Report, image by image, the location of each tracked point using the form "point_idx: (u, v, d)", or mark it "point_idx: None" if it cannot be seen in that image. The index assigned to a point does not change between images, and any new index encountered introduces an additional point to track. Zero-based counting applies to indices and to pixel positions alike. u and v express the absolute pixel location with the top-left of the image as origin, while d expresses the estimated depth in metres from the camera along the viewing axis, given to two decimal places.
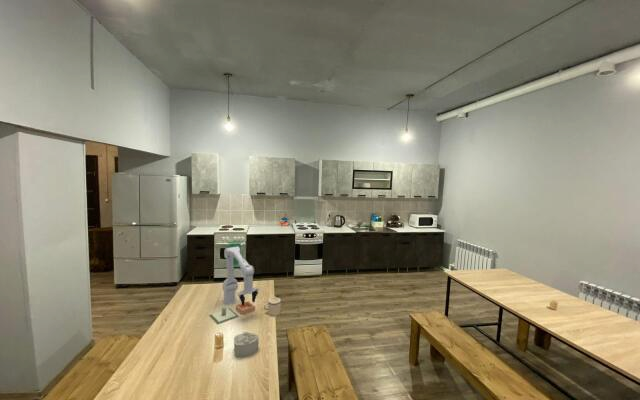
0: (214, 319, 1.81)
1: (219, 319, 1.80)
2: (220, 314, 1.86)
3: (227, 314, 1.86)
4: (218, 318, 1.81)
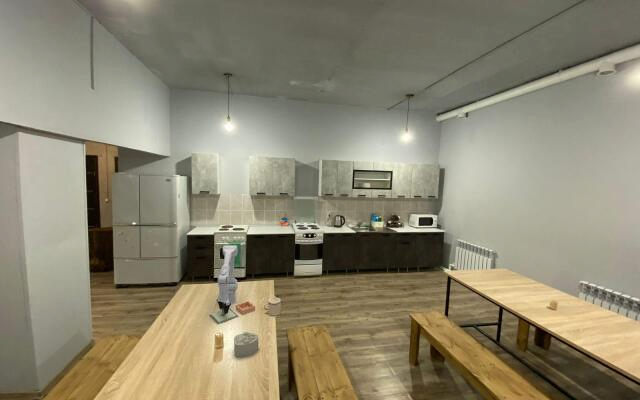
0: (214, 319, 1.81)
1: (219, 319, 1.80)
2: (220, 314, 1.86)
3: (227, 314, 1.86)
4: (218, 318, 1.81)
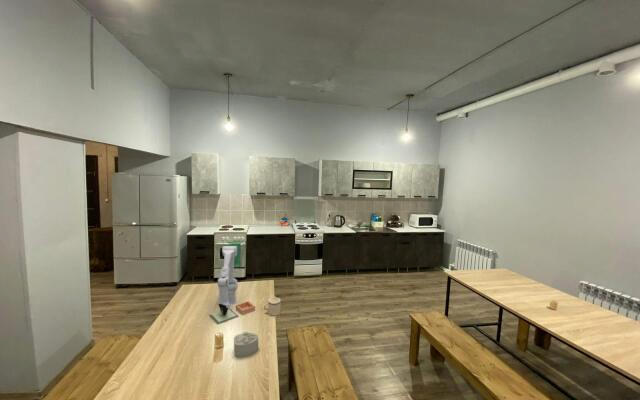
0: (214, 319, 1.81)
1: (219, 319, 1.80)
2: (220, 314, 1.86)
3: (227, 314, 1.86)
4: (218, 318, 1.81)
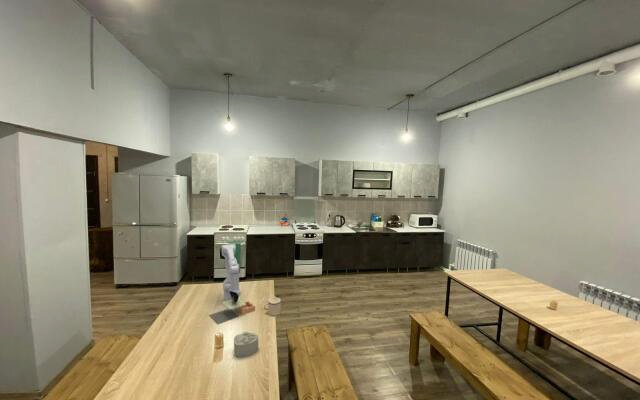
0: (214, 319, 1.81)
1: (230, 306, 1.83)
2: (230, 302, 1.89)
3: (237, 302, 1.90)
4: (229, 306, 1.84)
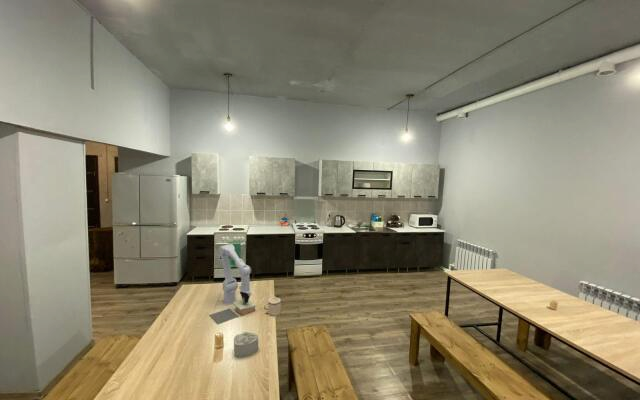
0: (214, 319, 1.81)
1: (241, 307, 1.87)
2: (241, 303, 1.94)
3: (247, 303, 1.94)
4: (240, 306, 1.89)
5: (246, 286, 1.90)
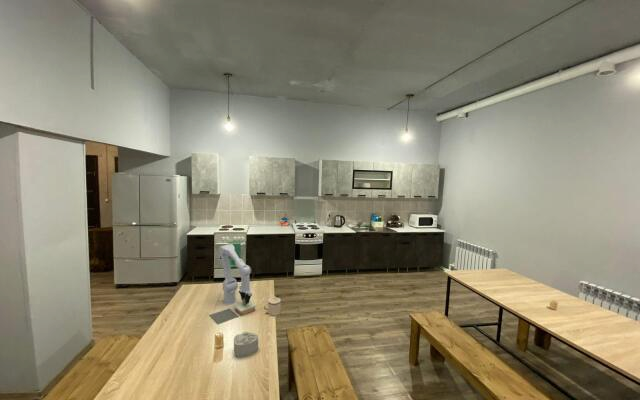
0: (214, 319, 1.81)
1: (241, 309, 1.88)
2: (241, 304, 1.94)
3: (247, 304, 1.94)
4: (239, 308, 1.89)
5: (246, 286, 1.90)
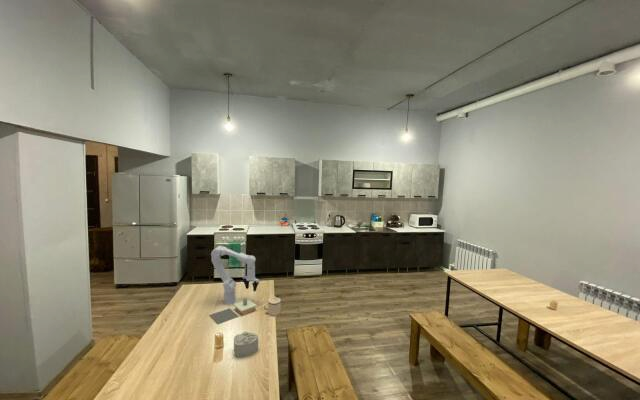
0: (214, 319, 1.81)
1: (241, 308, 1.88)
2: (241, 304, 1.94)
3: (248, 304, 1.94)
4: (240, 307, 1.89)
5: (253, 274, 2.01)
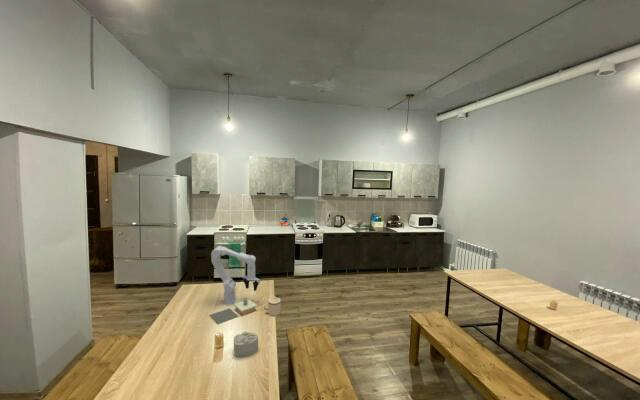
0: (214, 319, 1.81)
1: (241, 308, 1.88)
2: (242, 304, 1.94)
3: (248, 304, 1.94)
4: (240, 307, 1.89)
5: (253, 274, 2.02)
